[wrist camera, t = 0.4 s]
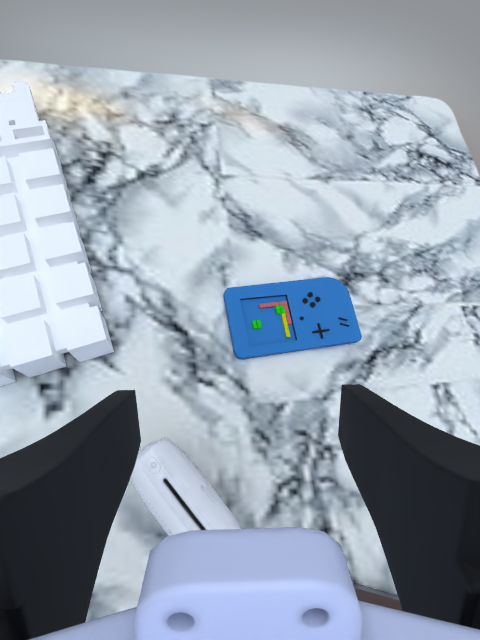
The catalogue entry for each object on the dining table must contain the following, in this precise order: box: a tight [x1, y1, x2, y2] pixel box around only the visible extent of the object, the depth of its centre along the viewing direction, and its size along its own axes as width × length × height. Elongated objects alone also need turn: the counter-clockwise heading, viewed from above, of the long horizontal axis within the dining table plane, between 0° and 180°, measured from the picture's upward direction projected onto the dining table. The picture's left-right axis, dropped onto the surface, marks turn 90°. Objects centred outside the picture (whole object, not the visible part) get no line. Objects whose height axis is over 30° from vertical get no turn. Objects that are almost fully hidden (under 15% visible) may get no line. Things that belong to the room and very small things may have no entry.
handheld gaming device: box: [224, 278, 362, 359], centre depth 44 cm, size 8×1×15 cm
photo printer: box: [130, 438, 241, 536], centre depth 31 cm, size 10×4×12 cm, turn 41°
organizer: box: [0, 81, 114, 386], centre depth 41 cm, size 13×5×35 cm
